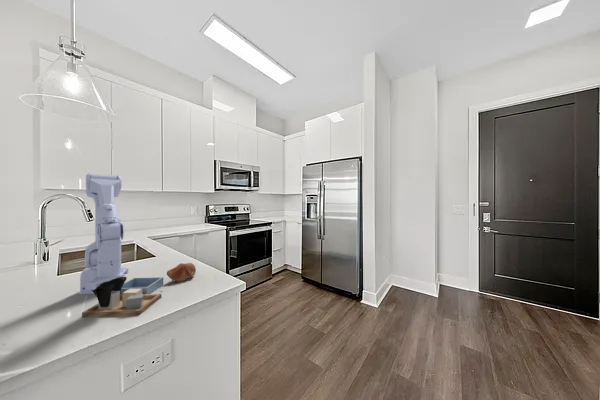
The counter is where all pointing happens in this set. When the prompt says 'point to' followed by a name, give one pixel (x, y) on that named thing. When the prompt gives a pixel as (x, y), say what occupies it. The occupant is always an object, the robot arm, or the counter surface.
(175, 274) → the bread loaf
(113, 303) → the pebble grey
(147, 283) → the dish
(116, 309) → the tray
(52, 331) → the counter surface
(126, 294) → the cream cube
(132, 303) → the matte stone cube
